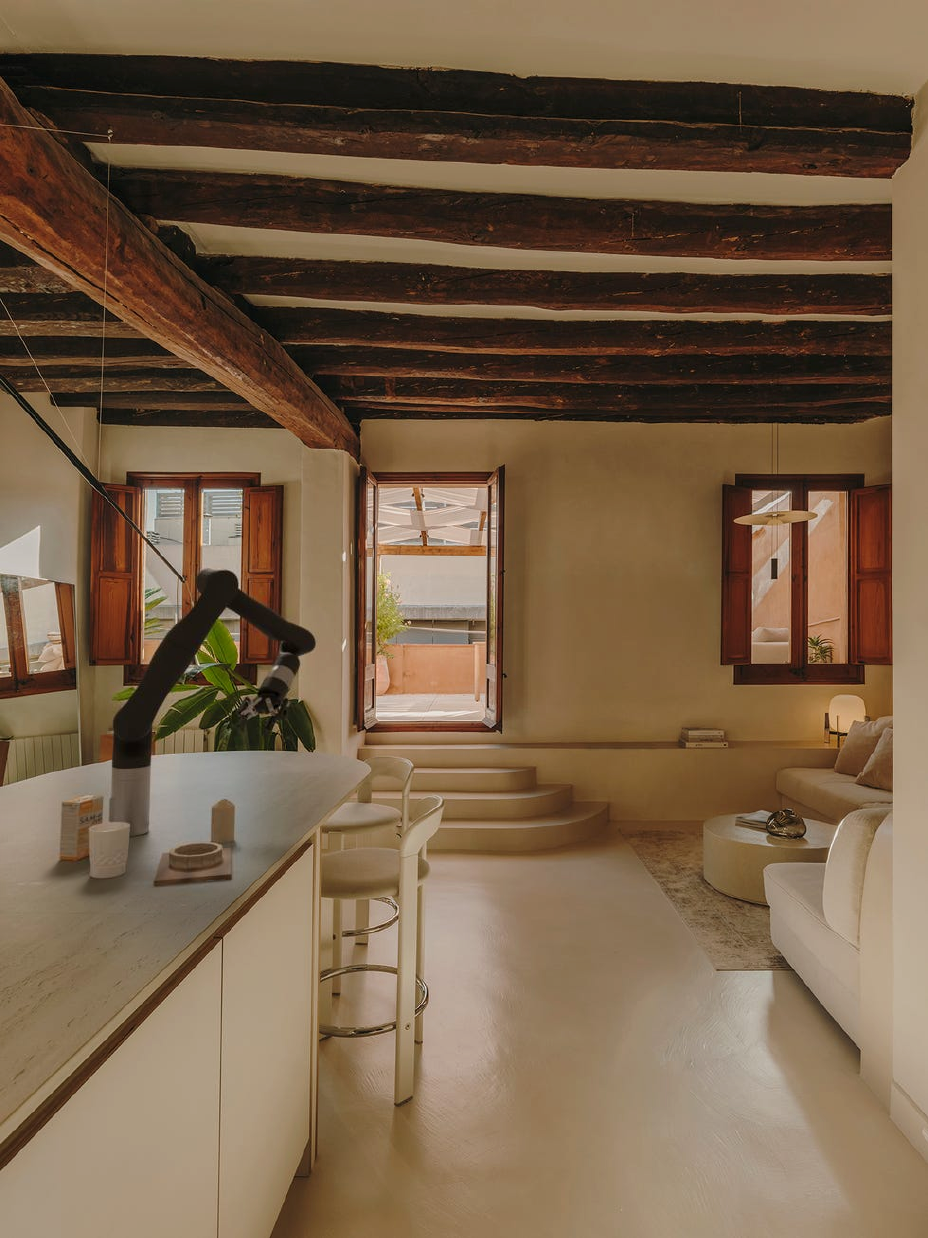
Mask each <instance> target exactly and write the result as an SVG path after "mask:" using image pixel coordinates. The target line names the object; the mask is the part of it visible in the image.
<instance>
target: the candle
mask: <svg viewBox="0 0 928 1238" xmlns="http://www.w3.org/2000/svg"><path fill="white" fill-rule="evenodd" d="M235 809H236V807H235V804H234V803H233V802H232V801H231V800H229V799H227V798H223V799H221V800H219V801H216V802H215V803H214V804H213V805H212V806H211V819H210V821H211V822H210V823H211V824H210V825H211V826H210V827H211V828H210V842H211V843H217V844H225V843H226V844H227V843H231V842H234V840H235V821H236V820H235V817H236V816H235V815H236V813H235V811H236V810H235Z"/></svg>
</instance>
